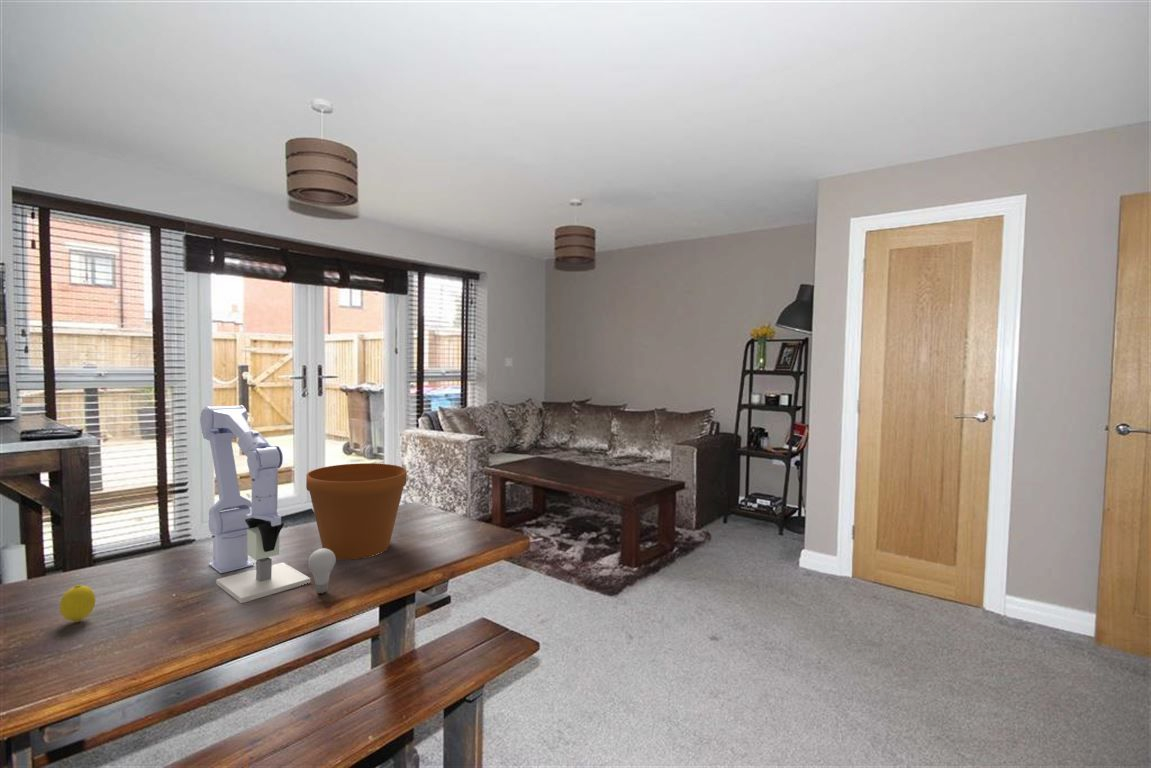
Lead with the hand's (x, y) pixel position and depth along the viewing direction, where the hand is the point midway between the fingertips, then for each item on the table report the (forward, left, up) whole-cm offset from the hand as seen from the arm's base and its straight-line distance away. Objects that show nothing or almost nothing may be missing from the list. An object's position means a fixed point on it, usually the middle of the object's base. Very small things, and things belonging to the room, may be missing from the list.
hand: (264, 547), depth 136 cm
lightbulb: (+16, +7, -9) cm, 20 cm away
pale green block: (0, 0, -2) cm, 2 cm away
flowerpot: (-7, +29, -9) cm, 31 cm away
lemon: (-7, -34, -9) cm, 36 cm away
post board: (0, 0, -9) cm, 9 cm away
